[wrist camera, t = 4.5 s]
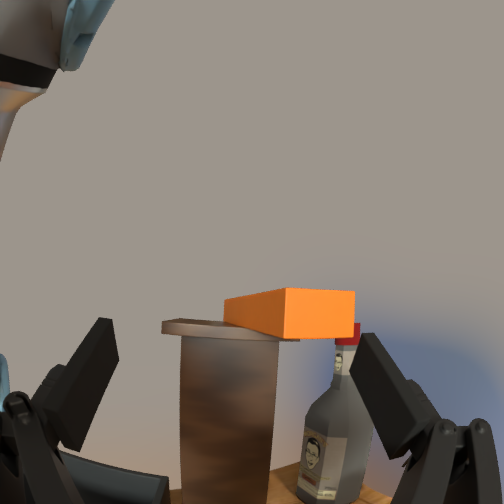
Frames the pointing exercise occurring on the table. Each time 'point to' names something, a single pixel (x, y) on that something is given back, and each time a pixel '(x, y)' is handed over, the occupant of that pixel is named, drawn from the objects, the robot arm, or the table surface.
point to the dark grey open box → (111, 483)
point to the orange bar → (295, 313)
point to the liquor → (336, 436)
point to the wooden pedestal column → (225, 410)
